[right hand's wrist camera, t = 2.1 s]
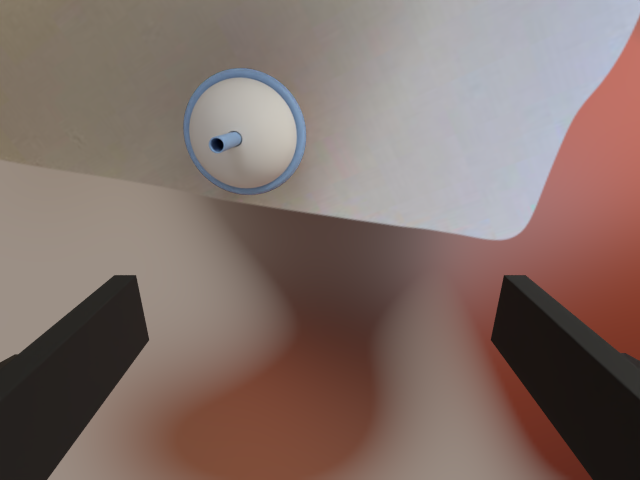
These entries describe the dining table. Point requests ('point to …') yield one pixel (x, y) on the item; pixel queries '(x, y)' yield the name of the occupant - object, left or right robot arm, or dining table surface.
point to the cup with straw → (244, 131)
